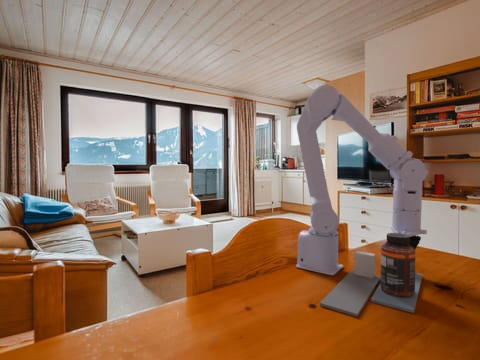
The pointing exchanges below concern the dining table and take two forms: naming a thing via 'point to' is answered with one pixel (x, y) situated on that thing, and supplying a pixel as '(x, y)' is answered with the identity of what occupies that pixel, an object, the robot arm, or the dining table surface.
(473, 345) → the dining table surface
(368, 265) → the strip empty
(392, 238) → the supplement bottle
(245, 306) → the dining table surface
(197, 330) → the dining table surface
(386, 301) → the strip
